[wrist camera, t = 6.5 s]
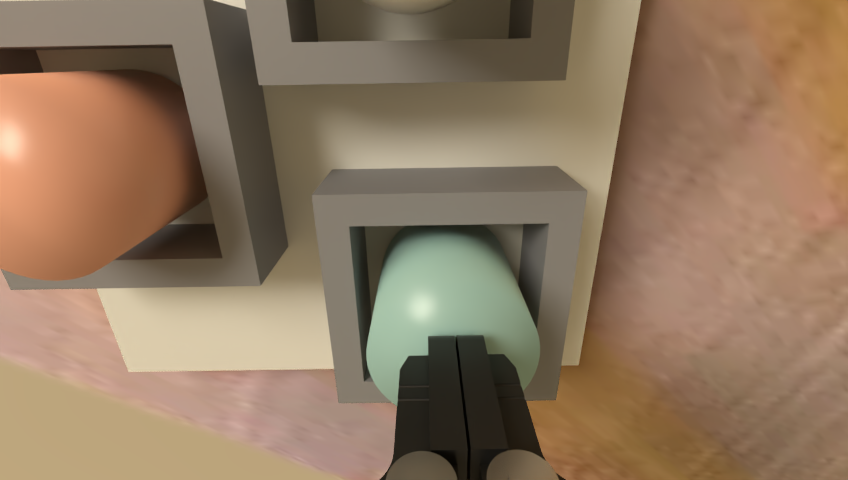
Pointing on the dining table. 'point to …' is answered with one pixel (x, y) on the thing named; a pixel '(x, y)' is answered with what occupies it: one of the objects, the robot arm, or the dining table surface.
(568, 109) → the console
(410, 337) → the mint green button
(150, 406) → the dining table surface
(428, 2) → the ivory button
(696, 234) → the dining table surface
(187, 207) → the coral button
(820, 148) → the dining table surface
